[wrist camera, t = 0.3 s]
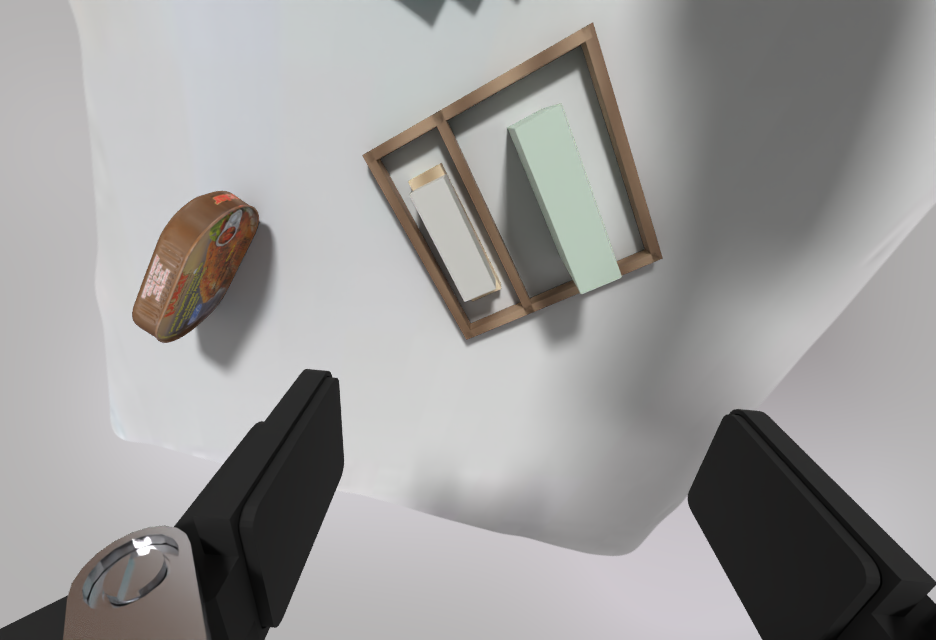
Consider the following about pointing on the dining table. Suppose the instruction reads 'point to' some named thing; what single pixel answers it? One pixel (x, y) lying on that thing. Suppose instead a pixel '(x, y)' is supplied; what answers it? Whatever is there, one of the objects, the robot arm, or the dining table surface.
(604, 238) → the sage panel
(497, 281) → the pine offcut
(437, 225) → the grey offcut
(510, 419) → the dining table surface
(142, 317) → the tin
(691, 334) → the dining table surface
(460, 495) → the dining table surface
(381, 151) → the rack
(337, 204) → the dining table surface
